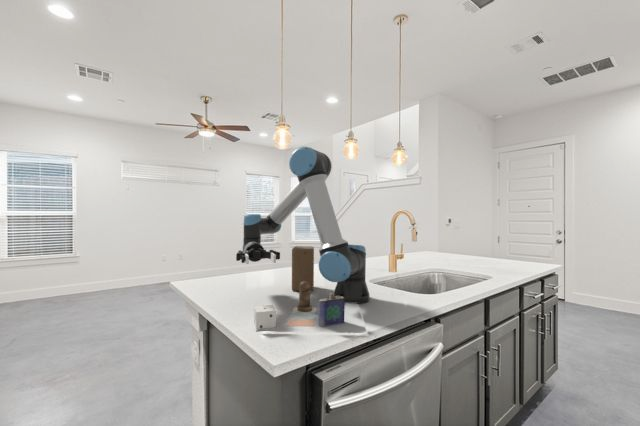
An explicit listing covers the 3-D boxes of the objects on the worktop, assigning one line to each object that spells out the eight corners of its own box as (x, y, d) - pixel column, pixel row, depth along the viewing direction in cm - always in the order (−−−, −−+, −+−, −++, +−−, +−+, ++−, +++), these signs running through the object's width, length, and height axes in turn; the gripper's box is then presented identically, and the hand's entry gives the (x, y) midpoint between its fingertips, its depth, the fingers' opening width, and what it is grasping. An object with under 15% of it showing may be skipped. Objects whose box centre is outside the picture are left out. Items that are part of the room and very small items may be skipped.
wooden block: (312, 291, 139) (313, 248, 139) (291, 291, 139) (291, 248, 139) (313, 286, 149) (313, 246, 149) (293, 286, 149) (293, 246, 149)
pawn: (312, 307, 112) (312, 279, 112) (311, 311, 107) (311, 282, 107) (298, 307, 112) (298, 279, 113) (296, 311, 107) (296, 282, 107)
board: (317, 309, 113) (317, 307, 113) (315, 329, 93) (315, 326, 93) (293, 308, 113) (293, 306, 113) (286, 328, 94) (286, 326, 94)
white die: (272, 323, 99) (272, 304, 99) (275, 329, 93) (275, 310, 93) (253, 325, 97) (254, 306, 97) (256, 332, 91) (256, 312, 91)
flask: (320, 330, 93) (320, 295, 93) (316, 327, 95) (316, 293, 96) (346, 325, 97) (346, 292, 97) (341, 322, 100) (341, 290, 100)
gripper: (279, 259, 129) (291, 268, 107) (227, 261, 122) (229, 271, 100) (279, 242, 129) (291, 247, 107) (227, 243, 122) (229, 249, 101)
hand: (261, 259), depth 104 cm, fingers open, 9 cm apart
